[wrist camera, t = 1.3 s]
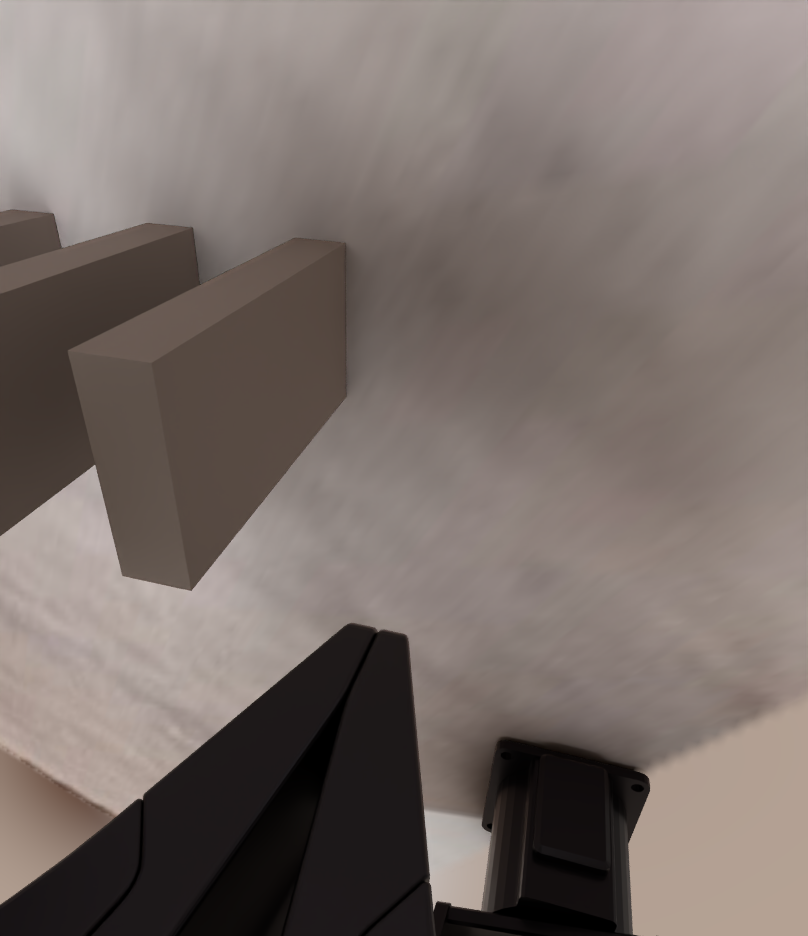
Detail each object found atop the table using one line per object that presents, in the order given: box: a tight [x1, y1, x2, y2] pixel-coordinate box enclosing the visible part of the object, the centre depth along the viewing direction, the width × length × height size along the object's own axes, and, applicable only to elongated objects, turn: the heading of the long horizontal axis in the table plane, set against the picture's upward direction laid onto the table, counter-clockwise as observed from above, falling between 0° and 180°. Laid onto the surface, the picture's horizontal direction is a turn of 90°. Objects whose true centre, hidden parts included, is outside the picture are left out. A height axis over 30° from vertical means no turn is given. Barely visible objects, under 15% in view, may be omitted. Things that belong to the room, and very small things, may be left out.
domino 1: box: [0, 223, 200, 536], centre depth 17 cm, size 2×5×10 cm, turn 178°
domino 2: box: [68, 238, 346, 591], centre depth 16 cm, size 2×5×10 cm, turn 178°
